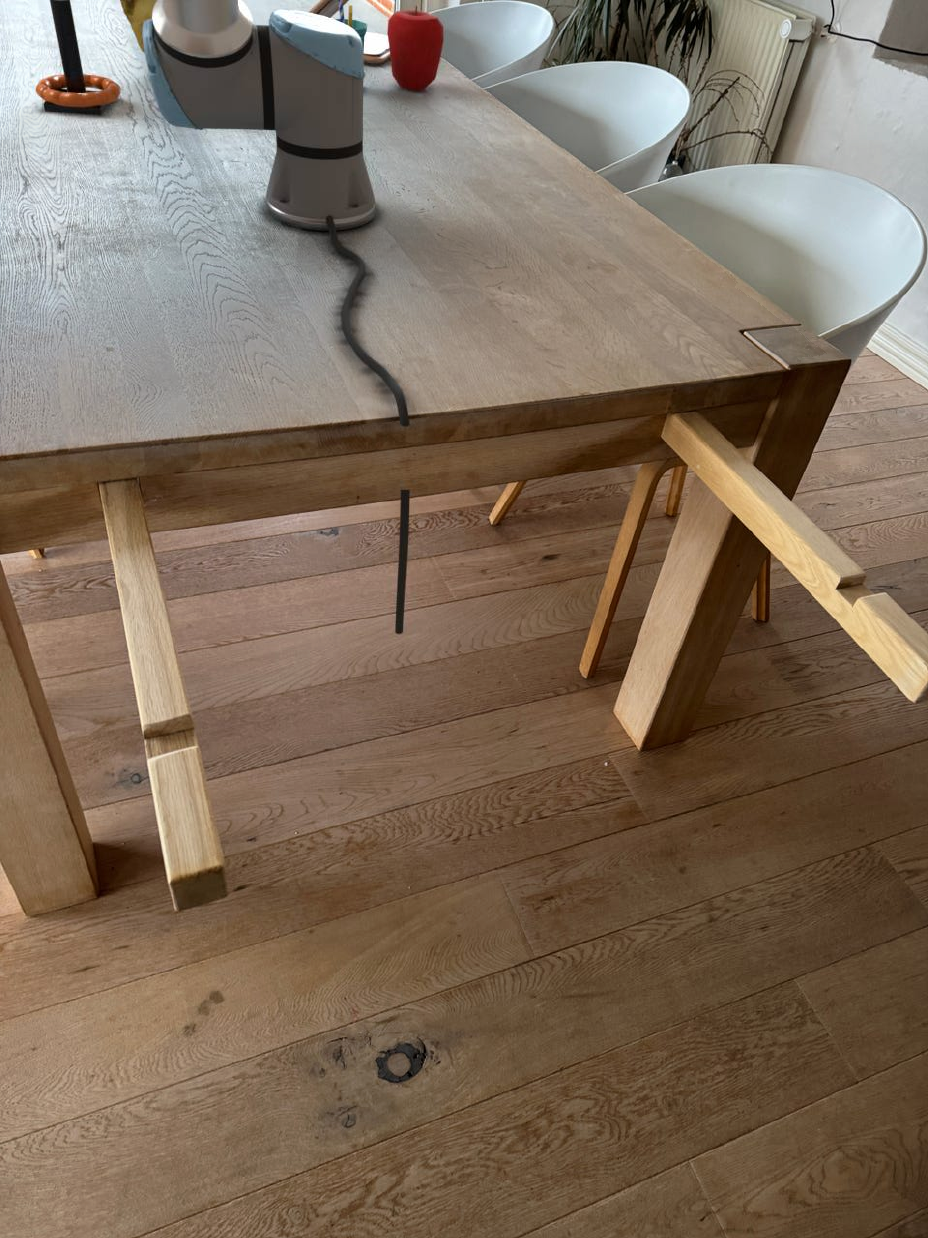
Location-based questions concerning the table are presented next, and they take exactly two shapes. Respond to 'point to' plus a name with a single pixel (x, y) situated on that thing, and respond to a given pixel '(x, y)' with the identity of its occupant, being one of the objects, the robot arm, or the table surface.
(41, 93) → the ring
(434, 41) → the apple
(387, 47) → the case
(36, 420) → the table surface
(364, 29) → the cup
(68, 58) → the peg stand
